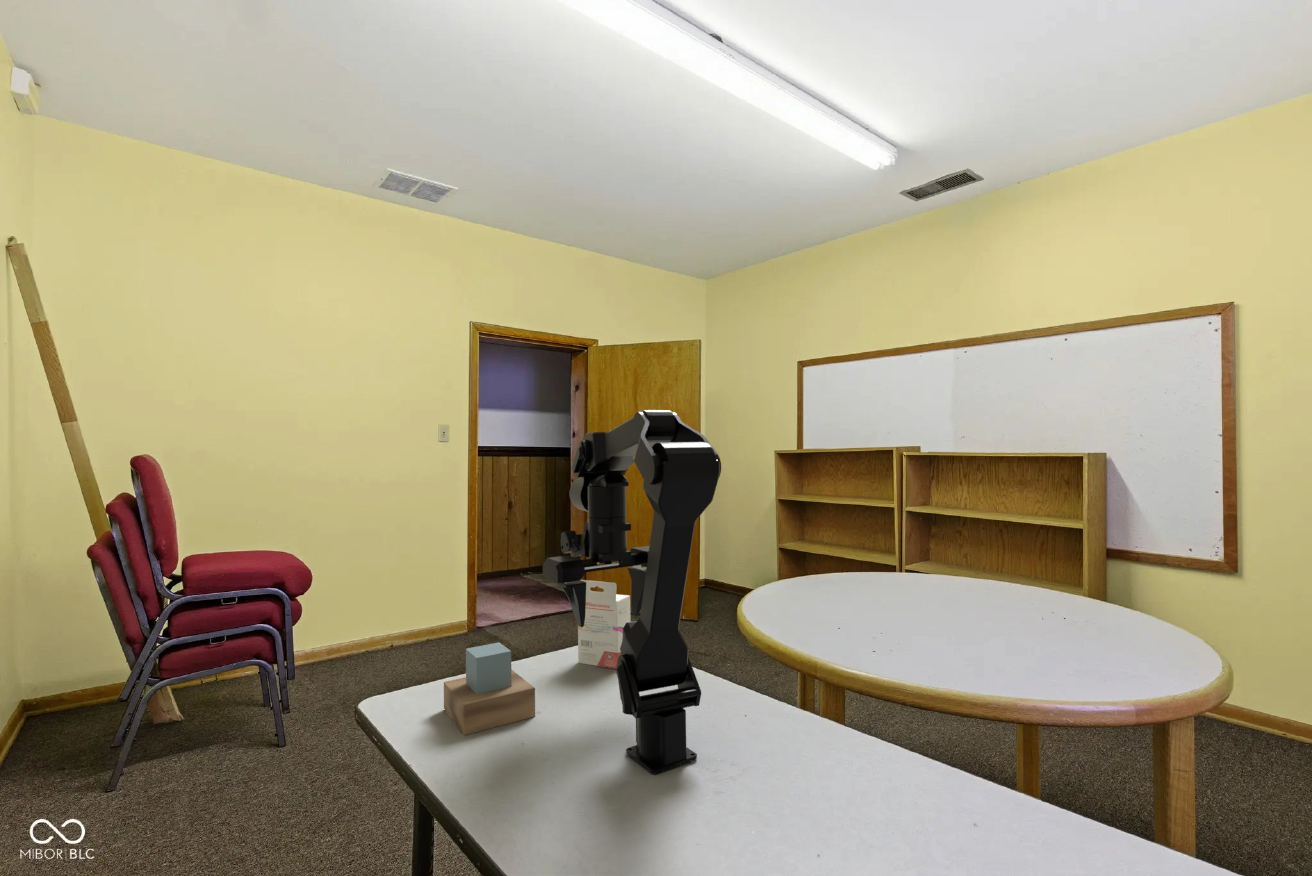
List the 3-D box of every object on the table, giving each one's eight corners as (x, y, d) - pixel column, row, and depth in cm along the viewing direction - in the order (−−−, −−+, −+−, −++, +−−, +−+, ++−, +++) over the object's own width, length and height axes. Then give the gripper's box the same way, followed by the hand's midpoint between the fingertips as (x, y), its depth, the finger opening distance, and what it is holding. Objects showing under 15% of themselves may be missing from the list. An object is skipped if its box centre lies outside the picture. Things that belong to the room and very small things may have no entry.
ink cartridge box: (633, 661, 111) (631, 578, 111) (618, 670, 106) (617, 583, 106) (592, 654, 115) (591, 574, 115) (576, 663, 110) (575, 579, 110)
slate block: (511, 686, 89) (511, 651, 89) (476, 694, 86) (476, 658, 86) (499, 676, 93) (499, 642, 93) (466, 683, 90) (465, 648, 91)
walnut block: (535, 716, 88) (534, 687, 88) (464, 735, 83) (464, 704, 83) (509, 693, 97) (509, 667, 97) (443, 709, 91) (443, 682, 91)
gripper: (632, 508, 105) (633, 601, 105) (527, 516, 95) (528, 619, 94) (670, 513, 96) (671, 615, 95) (558, 523, 85) (560, 637, 85)
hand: (608, 621), depth 93 cm, fingers open, 9 cm apart
